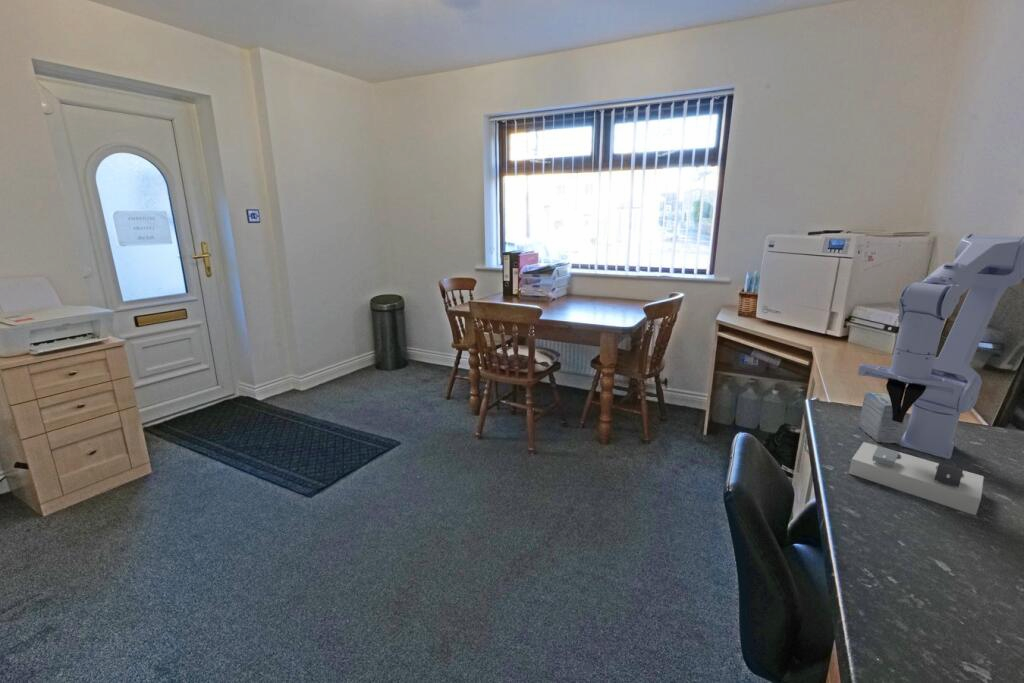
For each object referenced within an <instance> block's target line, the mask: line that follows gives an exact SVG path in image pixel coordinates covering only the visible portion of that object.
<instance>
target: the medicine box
mask: <svg viewBox="0 0 1024 683" xmlns="http://www.w3.org/2000/svg"><path fill="white" fill-rule="evenodd" d="M902 403H903V402H902ZM902 403H901V407H902ZM892 416H893V413H892V404H891V400H890V396H889V394H888V393H885V392H884V393H883V392H882V393H881V392H865V393H864V396H863V402H862V407H861V411H860V415H859V419H858V423H857V424H858V425H857V427H858V426H859V427H860V428H861V429H860V428H859V427H858V428H859V429H860V430H861V431H863V432H864V433H865V434H866V433H867V434H866V435H868V436H869V437H870V436H871V437H872V438H871V437H870V438H871V439H872V440H874V441H875V442H876V443H880V442H882V444H891V443H897V444H896V445H899V443H900V441H901V439H902V435H903V434H902V433H903V429H904V425H905V420H906V416H907V413H906V414H905V416H904V419H903V421H902V423H900V422H896V421H892Z"/></svg>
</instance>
